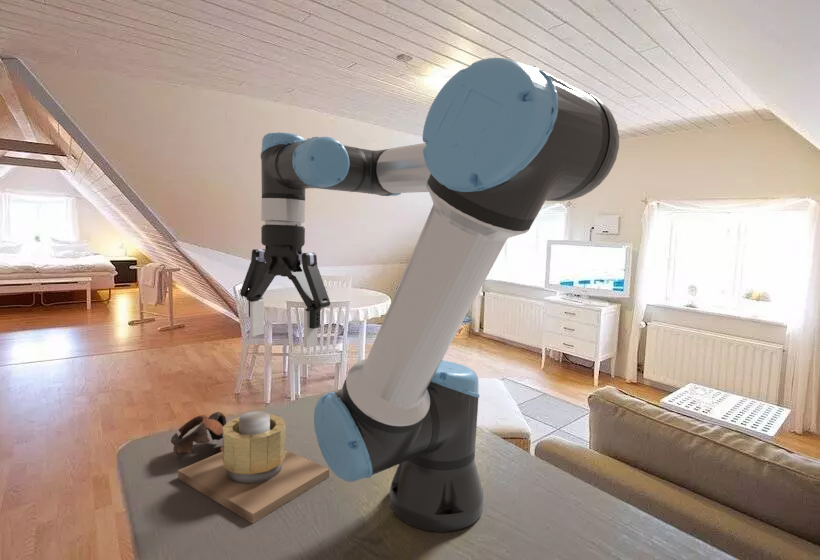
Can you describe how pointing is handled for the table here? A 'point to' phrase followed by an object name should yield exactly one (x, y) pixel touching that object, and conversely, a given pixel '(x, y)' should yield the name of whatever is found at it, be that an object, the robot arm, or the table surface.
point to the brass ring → (253, 447)
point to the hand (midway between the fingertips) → (282, 340)
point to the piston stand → (253, 477)
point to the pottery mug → (199, 432)
